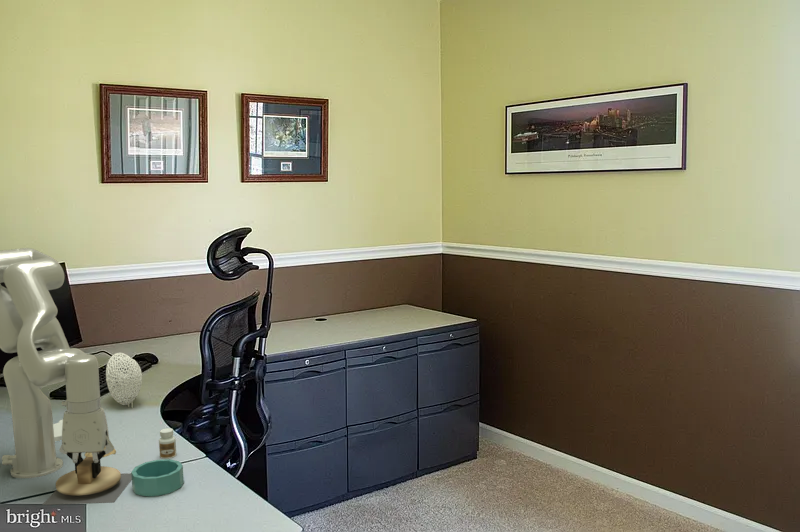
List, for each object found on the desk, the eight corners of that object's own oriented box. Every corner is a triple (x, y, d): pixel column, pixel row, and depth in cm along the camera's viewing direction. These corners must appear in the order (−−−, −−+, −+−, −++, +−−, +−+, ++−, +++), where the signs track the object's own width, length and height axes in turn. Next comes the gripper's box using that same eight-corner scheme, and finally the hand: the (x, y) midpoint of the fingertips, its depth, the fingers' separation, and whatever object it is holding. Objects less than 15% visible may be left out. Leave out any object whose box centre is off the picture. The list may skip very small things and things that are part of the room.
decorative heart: (149, 408, 250) (146, 358, 248) (116, 415, 244) (112, 363, 242) (134, 395, 265) (131, 347, 262) (103, 401, 259) (99, 352, 256)
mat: (42, 506, 178) (41, 504, 178) (70, 477, 195) (70, 475, 195) (114, 504, 179) (114, 502, 179) (136, 474, 196) (136, 473, 196)
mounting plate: (99, 436, 225) (99, 430, 225) (52, 446, 218) (52, 440, 218) (85, 421, 240) (85, 415, 240) (41, 429, 233) (40, 423, 233)
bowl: (126, 499, 182) (125, 479, 181) (141, 478, 193) (140, 460, 193) (176, 497, 182) (174, 477, 181) (188, 477, 194) (187, 458, 193)
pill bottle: (159, 461, 205) (157, 433, 204) (160, 455, 209) (158, 428, 208) (176, 459, 206) (174, 432, 205) (176, 453, 210) (175, 426, 209)
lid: (45, 495, 180) (43, 474, 179) (70, 469, 195) (69, 450, 194) (108, 495, 180) (107, 474, 179) (129, 468, 195) (128, 449, 194)
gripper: (43, 410, 180) (48, 483, 183) (112, 410, 181) (116, 482, 184) (56, 400, 188) (61, 470, 191) (122, 399, 188) (126, 469, 191)
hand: (88, 475), depth 187 cm, fingers closed on lid, 3 cm apart
